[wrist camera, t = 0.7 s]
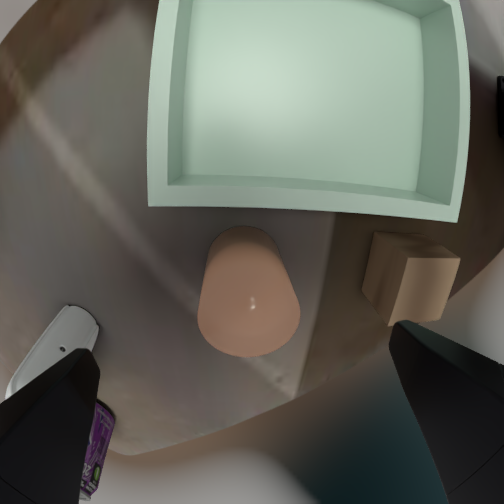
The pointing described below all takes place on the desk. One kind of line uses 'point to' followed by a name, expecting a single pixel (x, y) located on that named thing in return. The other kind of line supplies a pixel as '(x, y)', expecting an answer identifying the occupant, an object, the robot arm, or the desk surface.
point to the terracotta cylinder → (246, 295)
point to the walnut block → (408, 277)
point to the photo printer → (56, 345)
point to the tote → (310, 106)
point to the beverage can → (96, 451)
